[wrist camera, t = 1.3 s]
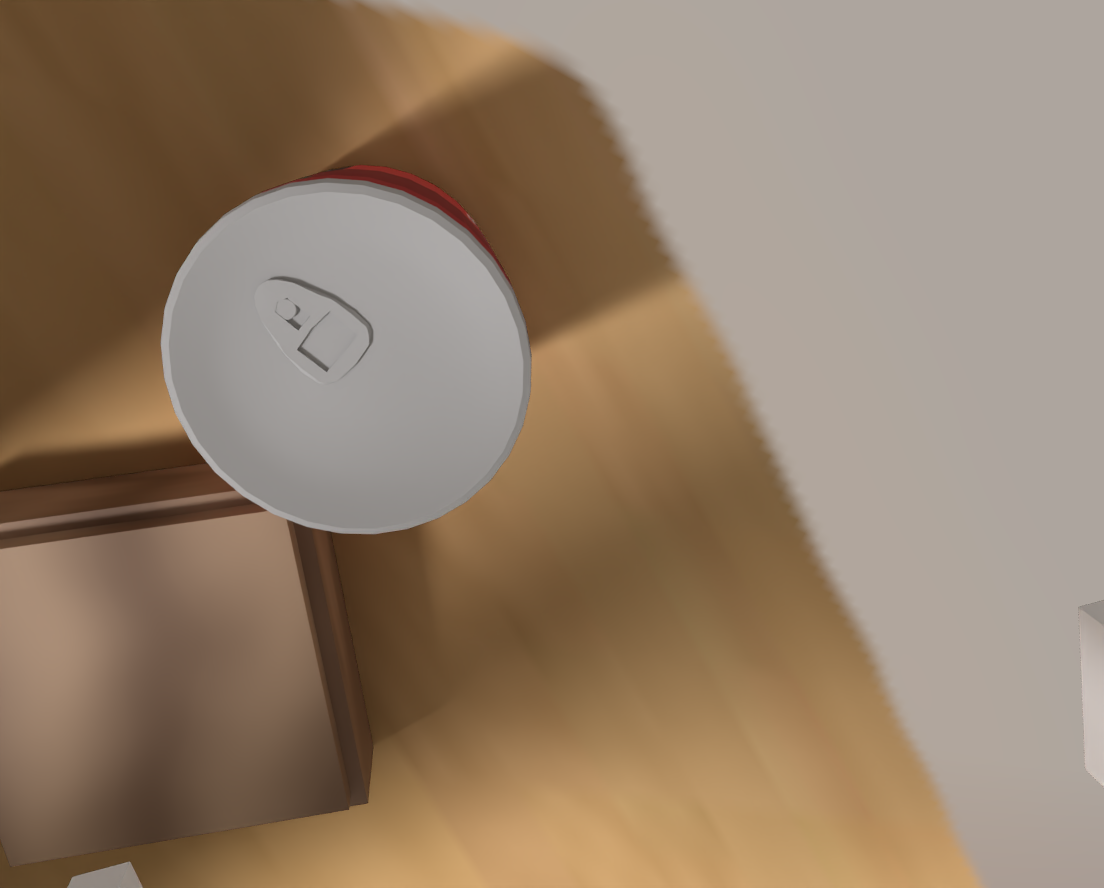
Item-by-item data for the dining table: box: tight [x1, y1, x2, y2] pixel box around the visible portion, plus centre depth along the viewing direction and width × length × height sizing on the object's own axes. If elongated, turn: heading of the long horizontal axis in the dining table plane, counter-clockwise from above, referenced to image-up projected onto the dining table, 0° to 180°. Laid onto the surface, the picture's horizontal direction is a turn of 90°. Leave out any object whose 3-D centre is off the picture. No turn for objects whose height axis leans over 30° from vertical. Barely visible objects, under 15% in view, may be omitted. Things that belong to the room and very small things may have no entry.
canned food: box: [161, 165, 531, 534], centre depth 25 cm, size 8×8×11 cm
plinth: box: [0, 463, 373, 867], centre depth 31 cm, size 12×12×4 cm
